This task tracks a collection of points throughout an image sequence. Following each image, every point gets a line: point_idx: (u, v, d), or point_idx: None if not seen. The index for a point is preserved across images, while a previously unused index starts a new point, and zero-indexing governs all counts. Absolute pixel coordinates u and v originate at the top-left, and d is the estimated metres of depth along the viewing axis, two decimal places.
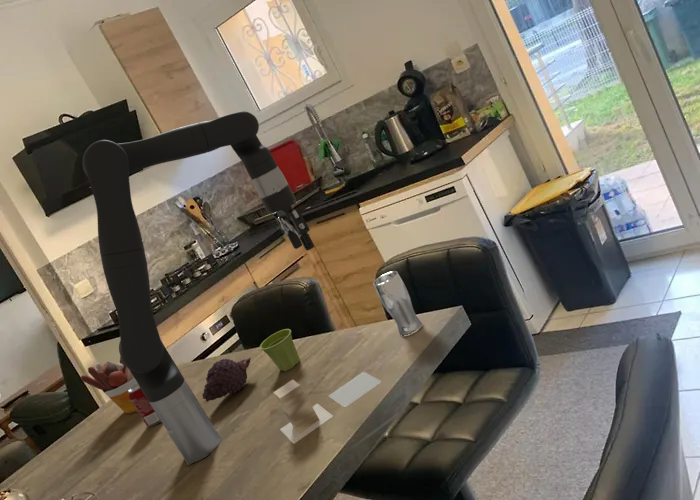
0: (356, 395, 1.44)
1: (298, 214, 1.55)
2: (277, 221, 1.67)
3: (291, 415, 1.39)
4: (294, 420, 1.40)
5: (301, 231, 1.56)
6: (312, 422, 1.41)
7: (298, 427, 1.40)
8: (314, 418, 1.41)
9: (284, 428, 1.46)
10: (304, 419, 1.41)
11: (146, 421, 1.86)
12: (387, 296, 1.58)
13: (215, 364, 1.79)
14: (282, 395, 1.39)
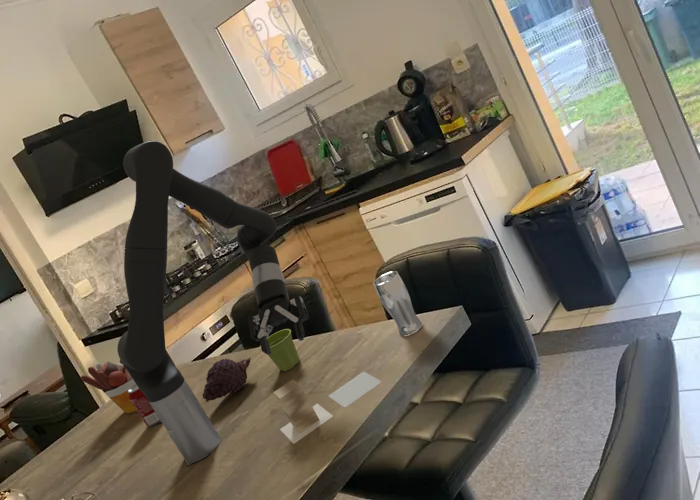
0: (356, 395, 1.44)
1: (302, 301, 1.55)
2: (251, 324, 1.55)
3: (291, 415, 1.39)
4: (294, 420, 1.40)
5: (304, 313, 1.52)
6: (312, 422, 1.41)
7: (298, 427, 1.40)
8: (314, 418, 1.41)
9: (284, 428, 1.46)
10: (304, 419, 1.41)
11: (146, 421, 1.86)
12: (387, 296, 1.58)
13: (215, 364, 1.79)
14: (282, 395, 1.39)
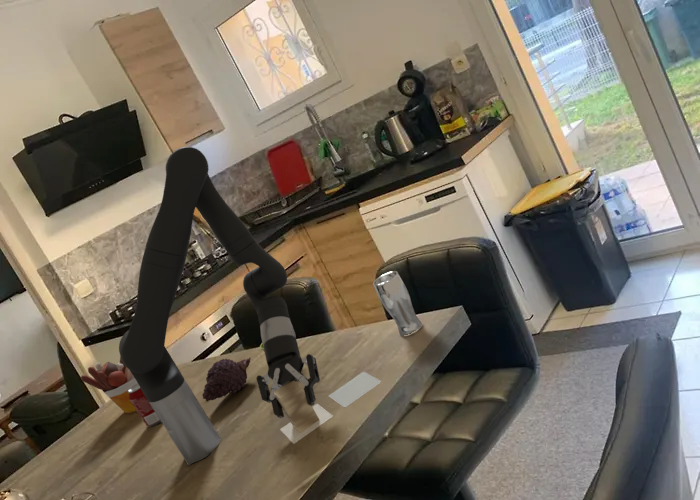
0: (356, 395, 1.44)
1: (314, 361, 1.45)
2: (261, 384, 1.45)
3: (291, 415, 1.39)
4: (294, 420, 1.40)
5: (315, 375, 1.42)
6: (312, 422, 1.41)
7: (298, 427, 1.40)
8: (314, 418, 1.41)
9: (284, 428, 1.46)
10: (304, 419, 1.41)
11: (146, 421, 1.86)
12: (387, 296, 1.58)
13: (215, 364, 1.79)
14: (282, 395, 1.39)
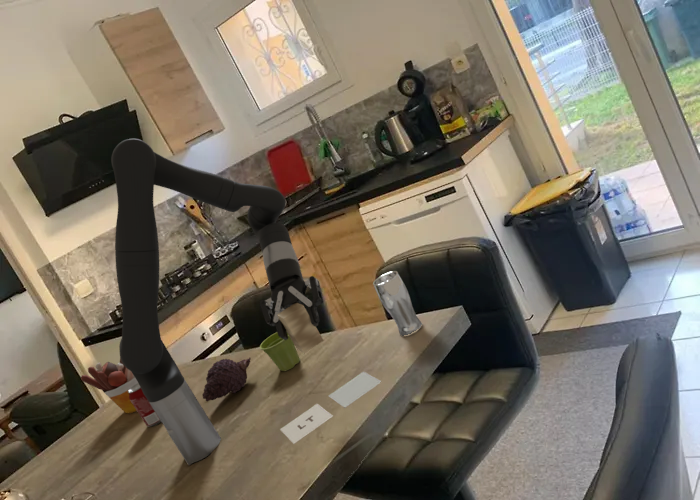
0: (356, 395, 1.44)
1: (318, 283, 1.44)
2: (264, 308, 1.45)
3: (295, 336, 1.39)
4: (298, 341, 1.39)
5: (318, 296, 1.41)
6: (316, 343, 1.41)
7: (302, 348, 1.40)
8: (318, 339, 1.41)
9: (284, 428, 1.46)
10: (308, 340, 1.40)
11: (146, 421, 1.86)
12: (387, 296, 1.58)
13: (215, 364, 1.79)
14: (286, 315, 1.38)
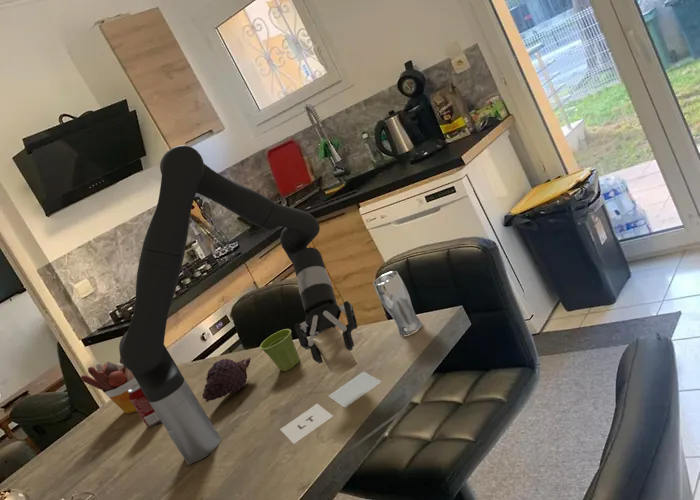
0: (356, 395, 1.44)
1: (352, 308, 1.47)
2: (299, 331, 1.48)
3: (330, 360, 1.42)
4: (333, 364, 1.43)
5: (353, 321, 1.44)
6: (350, 367, 1.44)
7: (337, 371, 1.43)
8: (352, 363, 1.44)
9: (284, 428, 1.46)
10: (343, 364, 1.43)
11: (146, 421, 1.86)
12: (387, 296, 1.58)
13: (215, 364, 1.79)
14: (321, 340, 1.42)
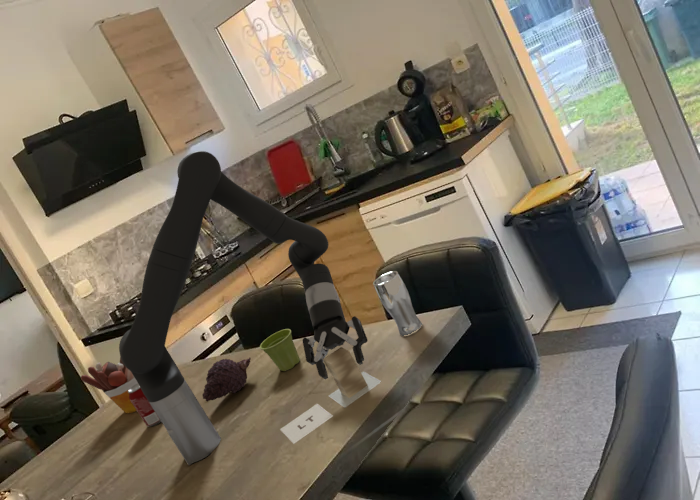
0: (356, 395, 1.44)
1: (360, 323, 1.49)
2: (306, 346, 1.49)
3: (341, 381, 1.44)
4: (344, 385, 1.44)
5: (363, 335, 1.46)
6: (361, 388, 1.45)
7: (347, 392, 1.44)
8: (362, 384, 1.46)
9: (284, 428, 1.46)
10: (353, 385, 1.45)
11: (146, 421, 1.86)
12: (387, 296, 1.58)
13: (215, 364, 1.79)
14: (332, 361, 1.43)
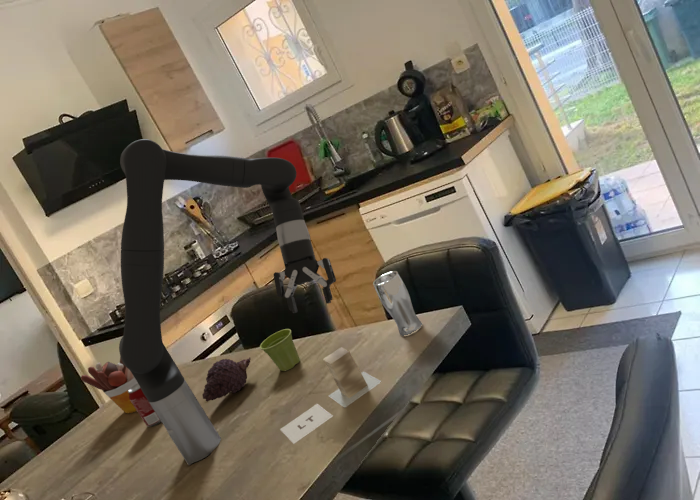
0: (356, 395, 1.44)
1: (329, 262, 1.57)
2: (277, 281, 1.57)
3: (341, 381, 1.44)
4: (344, 385, 1.44)
5: (333, 278, 1.55)
6: (361, 388, 1.45)
7: (347, 392, 1.44)
8: (362, 384, 1.46)
9: (284, 428, 1.46)
10: (353, 385, 1.45)
11: (146, 421, 1.86)
12: (387, 296, 1.58)
13: (215, 364, 1.79)
14: (332, 361, 1.43)
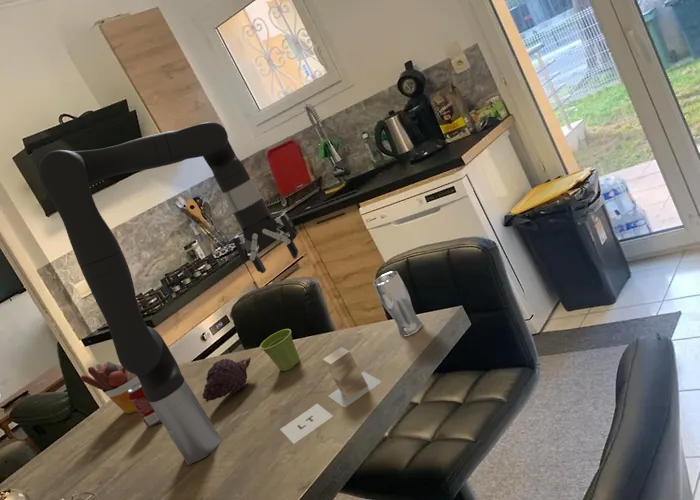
0: (356, 395, 1.44)
1: (287, 217, 1.52)
2: (239, 246, 1.53)
3: (341, 381, 1.44)
4: (344, 385, 1.44)
5: (295, 233, 1.52)
6: (361, 388, 1.45)
7: (347, 392, 1.44)
8: (362, 384, 1.46)
9: (284, 428, 1.46)
10: (353, 385, 1.45)
11: (146, 421, 1.86)
12: (387, 296, 1.58)
13: (215, 364, 1.79)
14: (332, 361, 1.43)
